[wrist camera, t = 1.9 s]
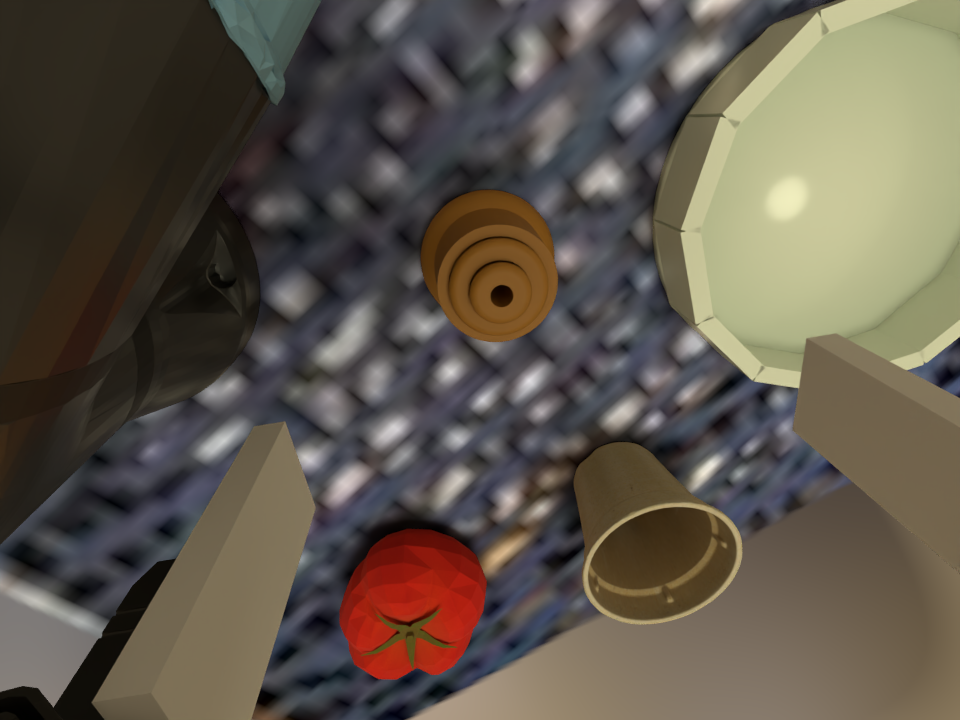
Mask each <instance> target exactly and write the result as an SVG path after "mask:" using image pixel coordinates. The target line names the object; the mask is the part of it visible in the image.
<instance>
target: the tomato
mask: <svg viewBox="0 0 960 720" xmlns="http://www.w3.org/2000/svg"><path fill="white" fill-rule="evenodd" d="M486 583H487V581H486V579H485V576H484V573H483V570H482V568H481V565H480V563H479V561H478V559H477V556H476V555H475V554H474V553H473V552H472V551H471V550H470V549H468V548H467V547H466V546H464V545H463V544H462V543H460V542H459V541H457V540H456V539H455V538H453V537H450V536H448V535H445V534H442V533H439V532H436V531H433V530H424V529H405V530H402V531H399V532H396V533H392V534H389V535H387V536H385V537H384V538H383V539H381V540H380V541H379V542H377V543H376V544H374V545H373V546H372V547H371V548H370V550H369V552H368V554H367V556H366V558H365V559H364V560H363V561H362V562H361V563H360V564H359V565H358V566H357V568H356V569H355V570H354V573H353V575H352V577H351V579H350V581H349V583H348V586H347V589H346V591H345V594H344V598H343V601H342V604H341V607H340V626H341V628H342V630H343V633H344V635H345V637H346V638H347V640H348V642H349V651H350V654H351V656H352V659H353V661H354V664H355V665H356V666H358V667H360V668H361V669H363V670H364V671H366V672H367V673H369V674H370V675H372V676H374V677H376V678H378V679H398V678H400V677H402V676H403V675H405V674H407V673H409V672H410V671H412V670H414V669H416V668H419V669H421V670H423V671H425V672H427V673H429V674H431V675H439V674H440V673H442V672H444V671H446V670H447V669H449V668H451V667H453V666H454V665H455V664H456V662H457V661H458V660H459V659H460V657H461V656H462V655H463V654H464V652H465V650H466V648H467V646H468V644H469V641H470V638H471V634H472V631H473V628H474V627H475V626H476V625H477V623H478V621H479V619H480V616H481V614H482V612H483V608H484V601H485V593H486Z"/></svg>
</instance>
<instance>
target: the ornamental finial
mask: <svg viewBox="0 0 960 720" xmlns="http://www.w3.org/2000/svg"><path fill="white" fill-rule="evenodd" d="M524 243H525V244H527V245H528V246H529V247H528V246H527V245H525V244H524ZM421 267H422V273H423V277H424V280H425V283H426V285H427V287H428V289H429V291H430V293H431V294H432V296H433V297H434V298H435V300H436V301H437V302H438V303H439V304H440V305H441V306H442V309H443V311H444V313H445V314H446V316H447V318H448V319H449V320H450V321H451V323H452V324H453V325H454V326H455V327H456V328H458V329H459V330H460V331H461V332H463V333H465V334H466V335H468V336H470V337H473V338H475V339H478V340H482V341H488V342H503V341H509V340H512V339H516V338H518V337H521V336H523V335H525V334H527V333H528V332H530V331H531V330H533V329H534V328H535V327H536V326H538V325H539V324H540V323H541V322H542V321H543V319H544V318H545V317H546V316H547V314H548V313H549V311H550V309H551V307H552V305H553V303H554V300H555V297H556V293H557V286H558V276H557V269H556V265H555V262H554V246H553V241H552V237H551V234H550V231H549V229H548V226H547V224H546V223H545V221H544V219H543V218H542V217H541V215H540V214H539V213H538V212H537V210H536V209H535V208H534V207H532V206H531V205H530V204H529V203H528V202H526V201H525V200H523V199H521V198H520V197H518V196H516V195H513V194H511V193H507V192H504V191H499V190H478V191H473V192H470V193H466V194H464V195H461V196H459V197H457V198H455V199H454V200H452V201H451V202H449V203H448V204H447V205H445V206H444V207H443V208H442V209H441V210H440V211H439V212H438V213H437V214H436V216H435V217H434V218H433V220H432V221H431V223H430V225H429V227H428V228H427V231H426V233H425V236H424V239H423V243H422V248H421ZM451 271H452V272H451ZM450 273H451V275H450ZM449 277H450V279H449Z"/></svg>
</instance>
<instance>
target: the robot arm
mask: <svg viewBox="0 0 960 720" xmlns="http://www.w3.org/2000/svg"><path fill="white" fill-rule="evenodd" d="M320 2H321V0H0V544H1V543H2V542H3V541H4V540H6V539H7V538H8V537H9V536H10V535H11V534H12V533H13V532H14V531H15V530H16V529H17V528H18V527H19V526H20V525H21V524H22V523H23V522H24V521H25V520H26V519H27V518H28V517H29V516H30V515H31V514H32V513H33V512H34V511H35V510H36V509H37V508H38V507H39V506H40V505H41V504H43V503H44V502H45V501H46V500H47V499H48V498H49V497H50V496H51V495H52V494H53V493H54V492H55V491H56V490H57V489H58V488H59V487H60V486H61V485H62V484H63V483H64V482H65V481H66V480H67V479H68V478H69V477H70V476H71V475H72V474H73V473H74V472H75V471H76V470H77V469H78V468H80V467H81V466H82V465H83V464H84V463H85V462H86V461H87V460H88V459H89V458H90V457H91V456H92V455H93V454H94V453H95V452H96V451H97V450H98V449H99V448H100V447H101V446H102V445H103V444H104V443H105V442H106V441H107V440H108V439H109V438H110V437H111V436H113V435H114V434H115V432H116V431H117V430H118V429H119V428H121V427H122V426H123V425H124V424H125V423H126V422H128V421H130V420H133V419H136V418H138V417H141V416H144V415H147V414H149V413H152V412H155V411H157V410H160V409H163V408H166V407H168V406H171V405H174V404H176V403H179V402H181V401H184V400H186V399H188V398H190V397H192V396H194V395H196V394H198V393H199V392H201V391H203V390H204V389H205V388H207V387H208V386H210V385H211V384H212V383H214V382H215V381H216V380H217V379H218V378H219V377H220V376H221V375H222V374H223V373H224V372H225V371H226V370H227V369H228V368H229V366H230V365H231V364H232V363H233V362H234V361H235V359H236V358H237V357H238V356H239V355H240V353H241V352H242V351H243V349H244V348H245V346H246V344H247V343H248V341H249V339H250V337H251V335H252V332H253V330H254V327H255V324H256V320H257V316H258V311H259V303H260V284H259V275H258V269H257V265H256V261H255V257H254V254H253V251H252V248H251V246H250V243H249V241H248V238H247V236H246V234H245V232H244V230H243V228H242V226H241V225H240V223H239V221H238V220H237V218H236V216H235V215H234V213H233V212H232V210H231V209H230V208H229V206H228V205H227V204H226V202H225V201H224V200H223V198H222V197H221V196H220V195H219V194H218V193H217V191H218V190H219V188H220V186H221V185H222V183H223V181H224V180H225V178H226V176H227V175H228V173H229V171H230V170H231V168H232V166H233V165H234V163H235V161H236V159H237V158H238V156H239V154H240V153H241V151H242V149H243V148H244V146H245V144H246V143H247V141H248V139H249V138H250V136H251V134H252V133H253V131H254V129H255V128H256V126H257V124H258V123H259V121H260V119H261V118H262V116H263V114H264V112H265V111H266V109H267V107H268V106H269V104H270V102H271V103H272V104H274V105H276V106H277V105H278V103H279V102H280V100H281V98H282V97H283V95H284V91H285V80H284V76H283V74H284V72H285V70H286V68H287V67H288V65H289V63H290V61H291V59H292V57H293V55H294V53H295V51H296V49H297V47H298V45H299V43H300V41H301V39H302V37H303V35H304V33H305V31H306V30H307V28H308V26H309V24H310V22H311V20H312V18H313V16H314V14H315V12H316V10H317V8H318V6H319V4H320ZM793 431H794V432H795V433H796V434H798V435H799V436H800V437H801V438H802V439H803V440H805V441H806V442H807V443H808V444H809V445H810V446H812V447H813V448H814V449H815V450H816V451H817V452H819V453H820V454H821V455H822V456H823V457H824V458H826V459H827V460H828V461H829V462H830V463H831V464H832V465H834V466H835V467H836V468H837V469H838V470H839V471H841V472H842V473H843V474H844V475H845V476H846V477H848V478H849V479H850V480H851V481H852V482H853V483H855V484H856V485H857V486H858V487H859V488H860V489H862V490H863V491H864V492H865V493H866V494H867V495H869V496H870V497H871V498H872V499H873V500H874V501H876V502H877V503H878V504H879V505H880V506H881V507H882V508H884V509H885V510H886V511H887V512H888V513H890V514H891V515H892V516H893V517H894V518H895V519H896V520H898V521H899V522H900V523H901V524H902V525H903V526H905V527H906V528H907V529H908V530H909V531H910V532H912V533H913V534H914V535H915V536H916V537H917V538H919V539H920V540H921V541H922V542H923V543H924V544H926V545H927V546H928V547H929V548H930V549H931V550H932V551H934V552H935V553H936V554H937V555H938V556H940V557H941V558H942V559H943V560H944V561H945V562H947V563H948V564H949V565H950V566H951V567H952V568H953V569H955V570H956V571H957V572H958V573H959V574H960V398H958V397H956V396H954V395H952V394H951V393H949V392H947V391H945V390H943V389H941V388H939V387H937V386H935V385H933V384H932V383H930V382H928V381H926V380H924V379H922V378H920V377H918V376H916V375H914V374H913V373H911V372H909V371H907V370H905V369H903V368H901V367H899V366H897V365H895V364H894V363H892V362H890V361H888V360H886V359H884V358H882V357H880V356H878V355H876V354H875V353H873V352H871V351H869V350H867V349H865V348H863V347H861V346H859V345H857V344H856V343H854V342H852V341H850V340H848V339H846V338H844V337H842V336H840V335H838V334H837V333H835V334H829V335H823V336H817V337H810V338H806V344H805V351H804V357H803V364H802V371H801V377H800V384H799V391H798V397H797V404H796V411H795V417H794V424H793ZM314 511H315V505H314V502H313V499H312V496H311V493H310V491H309V488H308V485H307V482H306V479H305V476H304V474H303V471H302V468H301V465H300V462H299V459H298V457H297V454H296V451H295V448H294V445H293V442H292V440H291V437H290V434H289V431H288V428H287V425H286V423H285V422H279V423H273V424H266V425H260V426H254V428H253V429H252V431H251V433H250V434H249V436H248V438H247V440H246V441H245V443H244V445H243V446H242V448H241V450H240V451H239V453H238V455H237V457H236V458H235V460H234V462H233V463H232V465H231V467H230V468H229V470H228V472H227V474H226V475H225V477H224V479H223V480H222V482H221V484H220V485H219V487H218V489H217V491H216V492H215V494H214V496H213V497H212V499H211V501H210V502H209V504H208V506H207V508H206V509H205V511H204V513H203V514H202V516H201V518H200V519H199V521H198V523H197V525H196V526H195V528H194V530H193V531H192V533H191V535H190V536H189V538H188V540H187V542H186V543H185V545H184V547H183V548H182V550H181V552H180V553H179V555H178V557H177V559H172V560H166V561H159V562H157V563H156V564H155V565H154V566H153V567H152V568H151V569H150V570H149V571H147V572H146V573H145V574H144V575H143V576H142V577H141V578H140V579H139V580H138V581H137V582H136V583H135V584H134V585H133V586H132V587H131V589H130V591H129V592H128V594H127V595H126V597H125V598H124V600H123V601H122V603H121V604H120V606H119V607H118V609H117V611H116V616H113V617H112V618H111V620H110V621H109V623H108V624H107V626H106V628H105V629H104V631H103V632H102V638H99V639H98V640H97V641H96V643H95V644H94V646H93V648H92V649H91V651H90V652H89V654H88V655H87V657H86V659H85V660H84V662H83V663H82V665H81V666H80V668H79V669H78V671H77V673H76V674H75V675H74V677H73V678H72V680H71V682H70V683H69V685H68V686H67V688H66V689H65V691H64V692H63V694H62V695H61V697H60V698H59V700H58V702H57V703H56V705H55V706H54V708H53V707H52V705H51V704H50V703H49V702H48V700H47V699H46V698H45V697H44V695H43V694H42V693H41V692H40V690H39V689H38V688H32V687H25V686H22V687H17V688H14V689H10V690H6V691H2V692H0V720H251V718H252V715H253V711H254V708H255V705H256V701H257V698H258V695H259V692H260V688H261V685H262V682H263V679H264V675H265V672H266V669H267V665H268V662H269V659H270V656H271V652H272V649H273V646H274V643H275V639H276V636H277V633H278V629H279V626H280V623H281V620H282V616H283V613H284V610H285V606H286V603H287V600H288V597H289V593H290V590H291V587H292V584H293V580H294V577H295V574H296V570H297V567H298V564H299V561H300V557H301V554H302V551H303V548H304V544H305V541H306V538H307V534H308V531H309V528H310V525H311V521H312V518H313V515H314Z"/></svg>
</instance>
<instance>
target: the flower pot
mask: <svg viewBox="0 0 960 720" xmlns="http://www.w3.org/2000/svg"><path fill="white" fill-rule="evenodd" d="M574 490H575V494H576V499H577V503H578V509H579V514H580V519H581V525H582V531H583V536H584V542H585V550H584V563H583V568H582V580H583V586H584V590H585V592H586V595H587V597H588V598H589V600H590V602H591V603H592V604H593V605H594V606H595V607H596V608H597V609H598V610H599V611H600V612H601V613H603V614H605V615H606V616H608V617H610V618H613V619H616V620H618V621H620V622H626V623H632V624H655V623H661V622H667V621H671V620H675V619H678V618H681V617H683V616H686V615H689V614H691V613H693V612H695V611H696V610H699V609H700V608H702V607H704V606H705V605H706V604H708V603H710V602H711V601H712V600H714V599H715V598H716V597H717V596H718V595H720V594H721V593H722V592H723V591H724V590H725V588H726V587H727V586H728V585H729V584H730V583H731V581H732V580H733V578H734V577H735V575H736V572H737V571H738V568H739V566H740V563H741V559H742V541H741V536H740V534H739V531H738V530H737V528H736V526H735V525H734V523H733V522H732V521H731V520H730V519H729V518H728V517H727V516H726V515H725V514H724V513H723V512H721V511H720V510H718V509H716V508H714V507H712V506H710V505H708V504H706V503H704V502H703V501H701V500H700V499H698V498H696V497H694V496H693V495H692V494H691V493H690V492H689V491H688V490H687V489H686V488H685V487H684V486H683V485H682V484H681V483H680V482H679V481H678V480H677V479H676V478H675V477H674V476H673V475H672V474H671V473H670V472H669V471H668V470H667V469H666V468H665V467H664V466H663V465H662V464H661V463H660V462H659V461H658V460H657V459H656V458H655V457H654V455H653V454H652V453H651V452H649V451H648V450H647V449H645V448H643V447H642V446H640V445H638V444H635V443H629V442H615V443H610V444H607V445H604V446H601V447H599V448H597V449H596V450H595V451H594V452H593V453H592V454H591V455H590V456H589V457H588V458H587V459H585V460H584V461H583V462H581V463H580V465H579V466H578V468H577V470H576V473H575V476H574Z"/></svg>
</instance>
